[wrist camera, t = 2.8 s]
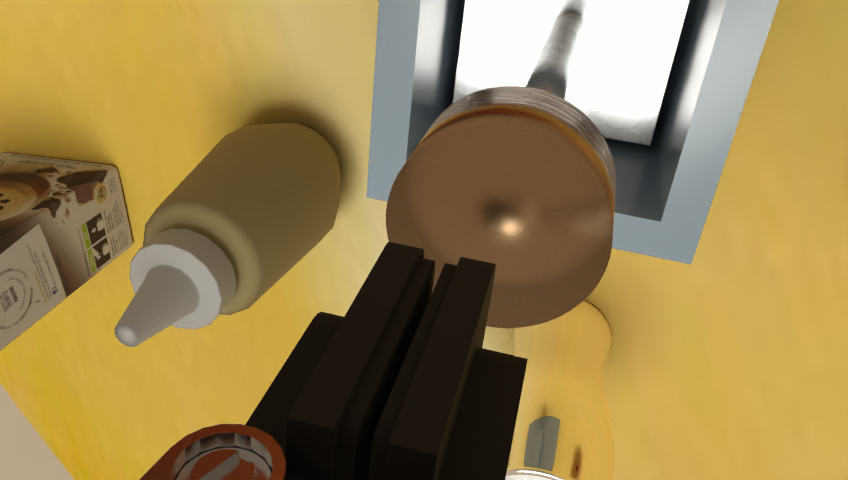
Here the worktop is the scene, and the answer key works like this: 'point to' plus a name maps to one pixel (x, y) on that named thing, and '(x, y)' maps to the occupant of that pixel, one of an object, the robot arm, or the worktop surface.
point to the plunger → (536, 146)
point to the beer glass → (563, 400)
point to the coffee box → (54, 233)
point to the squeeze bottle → (232, 228)
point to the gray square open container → (634, 163)
